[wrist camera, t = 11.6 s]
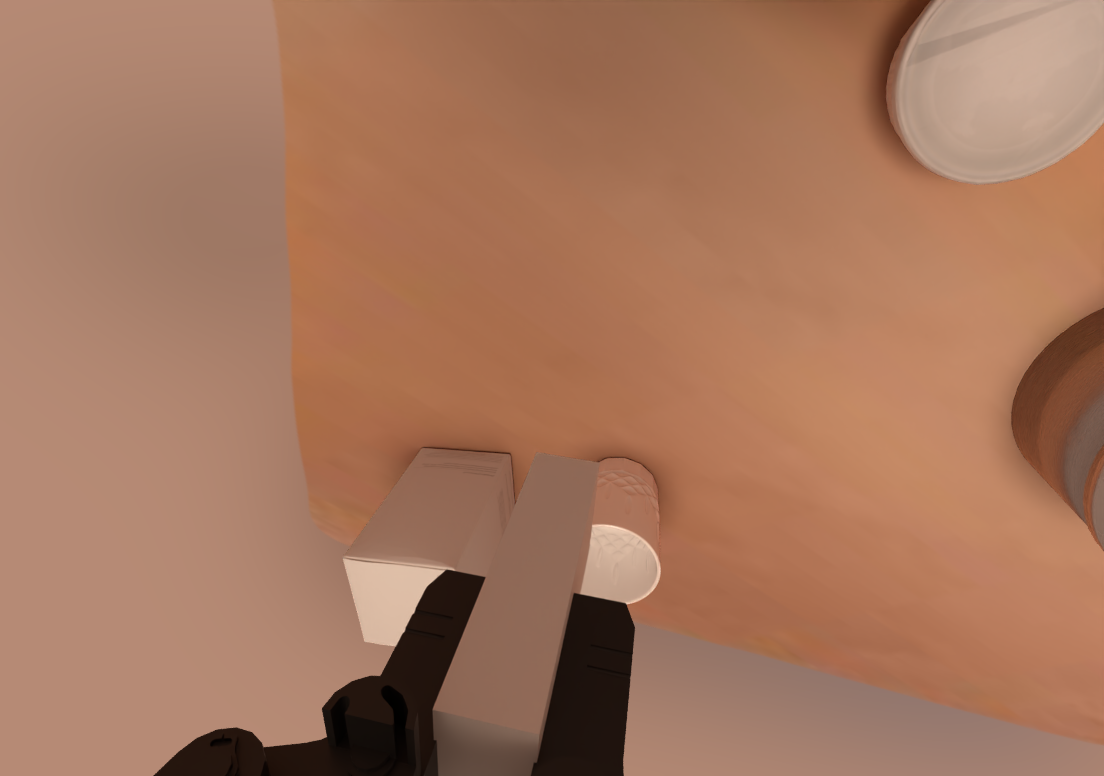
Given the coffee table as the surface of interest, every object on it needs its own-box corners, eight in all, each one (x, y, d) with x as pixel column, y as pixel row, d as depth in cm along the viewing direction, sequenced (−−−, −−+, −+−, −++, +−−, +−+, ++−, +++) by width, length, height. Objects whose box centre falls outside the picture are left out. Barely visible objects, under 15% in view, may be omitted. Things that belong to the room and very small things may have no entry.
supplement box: (419, 444, 55) (337, 555, 42) (512, 451, 54) (457, 569, 40) (431, 521, 59) (360, 644, 46) (518, 530, 58) (469, 661, 45)
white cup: (675, 515, 53) (673, 598, 44) (593, 529, 56) (576, 611, 47) (648, 442, 50) (641, 516, 42) (563, 461, 53) (540, 534, 44)
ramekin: (995, -93, 32) (1049, -125, 27) (1132, 49, 33) (1204, 42, 29) (827, 93, 37) (848, 93, 32) (951, 209, 38) (988, 225, 34)
